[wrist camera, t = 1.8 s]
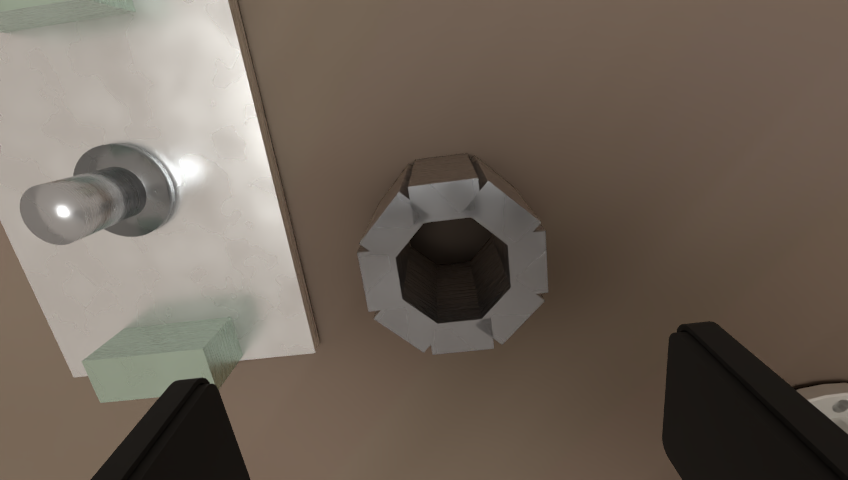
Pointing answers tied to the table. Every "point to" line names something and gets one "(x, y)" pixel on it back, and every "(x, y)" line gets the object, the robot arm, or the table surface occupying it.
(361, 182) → the table surface
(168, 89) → the seat
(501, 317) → the hub
